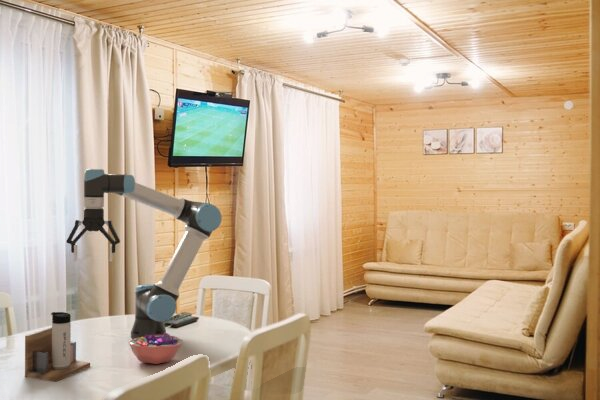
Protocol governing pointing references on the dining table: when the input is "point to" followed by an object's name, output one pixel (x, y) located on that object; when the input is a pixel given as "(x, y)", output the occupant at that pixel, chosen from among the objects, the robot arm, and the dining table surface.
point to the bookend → (39, 362)
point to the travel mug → (61, 340)
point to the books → (72, 351)
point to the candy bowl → (155, 348)
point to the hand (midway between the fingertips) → (93, 261)
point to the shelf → (44, 343)
